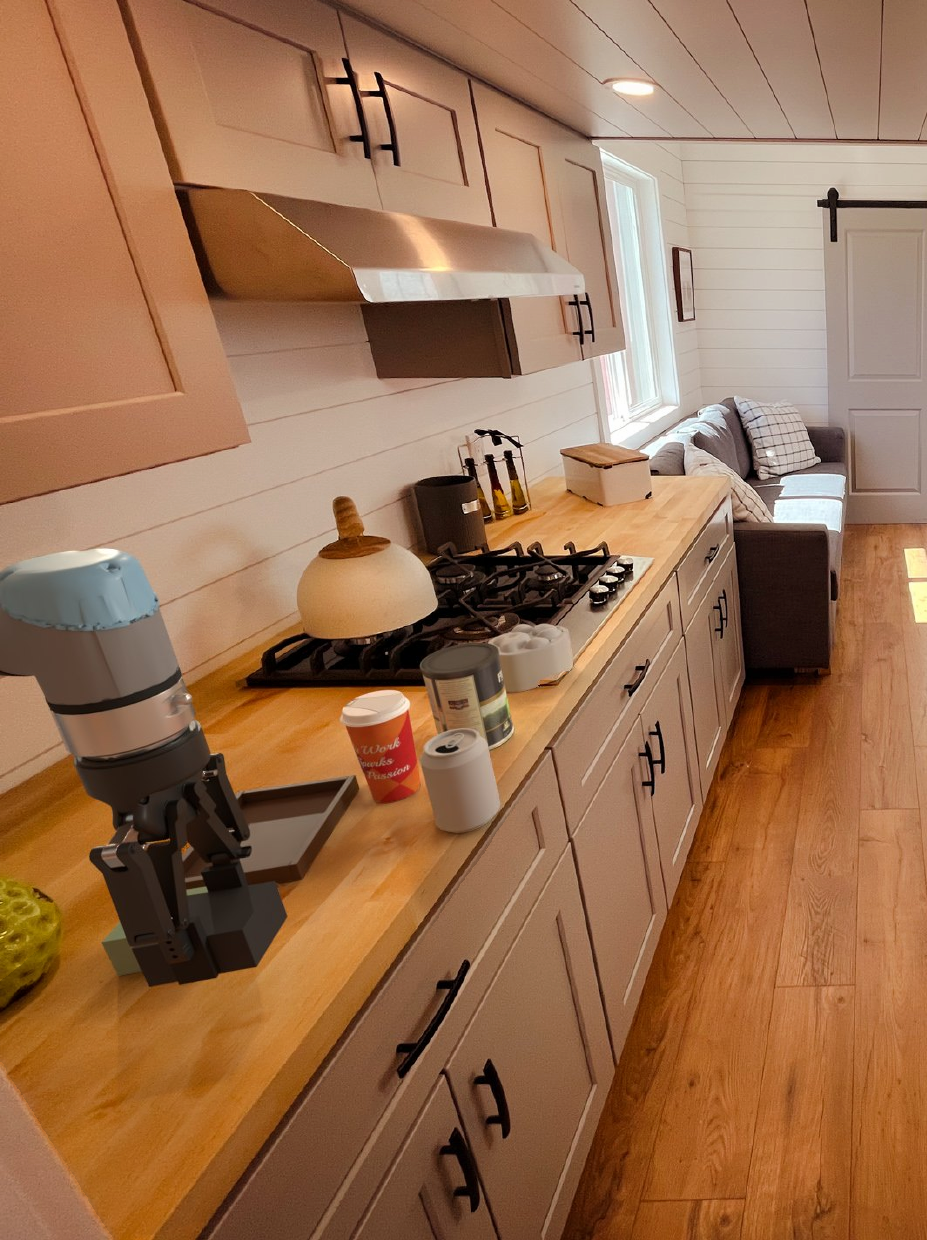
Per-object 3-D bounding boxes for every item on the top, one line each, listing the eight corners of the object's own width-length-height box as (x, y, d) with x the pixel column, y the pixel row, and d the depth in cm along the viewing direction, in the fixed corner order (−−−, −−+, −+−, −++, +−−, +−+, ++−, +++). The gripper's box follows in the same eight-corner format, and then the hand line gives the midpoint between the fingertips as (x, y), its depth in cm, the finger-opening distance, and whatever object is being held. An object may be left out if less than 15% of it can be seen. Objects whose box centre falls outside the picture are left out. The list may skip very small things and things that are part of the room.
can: (423, 834, 92) (401, 754, 88) (463, 797, 99) (445, 721, 95) (476, 840, 91) (458, 760, 87) (513, 802, 98) (497, 726, 94)
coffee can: (503, 712, 119) (487, 635, 114) (523, 739, 112) (507, 658, 107) (432, 736, 113) (412, 655, 108) (448, 765, 106) (428, 680, 101)
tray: (160, 903, 81) (153, 888, 80) (243, 805, 97) (237, 791, 96) (302, 879, 85) (296, 864, 84) (359, 788, 100) (355, 774, 100)
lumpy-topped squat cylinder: (489, 675, 131) (480, 632, 128) (561, 653, 140) (555, 612, 137) (509, 696, 124) (500, 651, 121) (584, 672, 133) (577, 629, 130)
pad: (117, 976, 72) (100, 942, 71) (155, 929, 78) (141, 897, 76) (213, 958, 74) (199, 925, 73) (244, 913, 80) (232, 882, 78)
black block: (148, 987, 64) (131, 949, 62) (189, 933, 69) (173, 897, 67) (256, 967, 66) (242, 929, 64) (288, 916, 71) (275, 880, 70)
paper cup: (350, 808, 96) (323, 718, 92) (386, 773, 104) (362, 688, 99) (410, 807, 97) (386, 717, 92) (441, 772, 104) (420, 687, 99)
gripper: (114, 801, 52) (212, 1030, 60) (251, 676, 69) (313, 868, 77) (-22, 818, 50) (98, 1053, 58) (154, 685, 67) (228, 881, 75)
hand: (221, 947), depth 67 cm, fingers closed on black block, 6 cm apart
